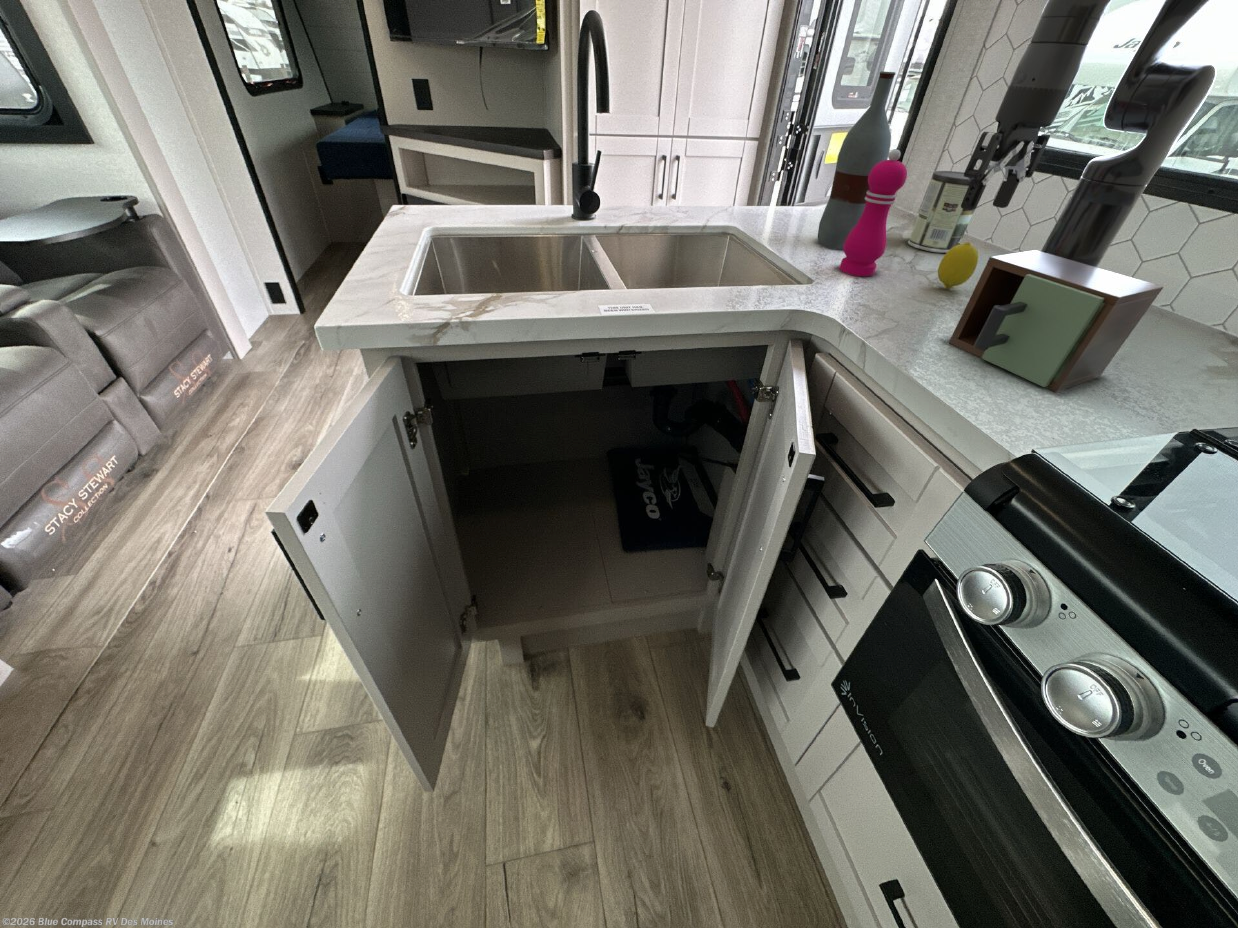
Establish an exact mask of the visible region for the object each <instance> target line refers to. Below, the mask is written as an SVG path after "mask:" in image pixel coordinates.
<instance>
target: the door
mask: <svg viewBox="0 0 1238 928" xmlns="http://www.w3.org/2000/svg"><path fill="white" fill-rule="evenodd" d="M1104 299H1105V298H1103V297H1100V296H1097V295H1093V294H1090V293H1087V292H1084V291H1081V290H1078V289H1075V288H1072V287H1069V286H1065V285H1062V284H1059V283H1056V282H1053V281H1050V280H1047V279H1044V278H1040V277H1037V276H1034V275H1031V274H1028V275H1026V276H1025V278H1024V280H1023V281H1022V283H1021V285H1020V287H1019V289H1018V291H1017V293H1016V294H1015V296H1014V298H1013V300H1012V302H1011V304H1007V305H1002V306H1000V305H996V306H994V307H993V309H992V311H991V313H990V315H989V317H988V319H987V321H986V323H985V325H984V327H983V329H982V331H981V332H980V334H979V336H978V338H977V340H976V342H975V344H974V347H975V348H977V349H980V350H985V352H984V354H983V356H982V358H981V359H982V360H984V361H986V362H988V363H991V364H992V365H995V366H998V367H999V368H1002V369H1004V370H1006V371H1007V372H1009V373H1012V374H1014V375H1017V376H1019V377H1021V378H1022V379H1025V380H1027V381H1030V382H1032V383H1034V384H1036V385H1038V386H1040V387H1042V388H1045V387H1046V386H1048V385H1049V383H1050V382H1051V380H1052V379H1053V377H1054V376H1055V374H1056V373H1057V371H1058V370H1059V368H1060V366H1061V365H1062V363H1063V362H1064V360H1065V359H1066V357H1067V356H1068V354H1069V353H1070V351H1071V350H1072V348H1073V346H1074V345H1075V343H1076V342H1077V340H1078V339H1079V337H1080V336H1081V334H1082V333H1083V331H1084V330H1085V328H1086V327H1087V325H1088V323H1089V322H1090V320H1091V319H1092V317H1093V316H1094V314H1095V313H1096V311H1097V310H1098V308H1099V307H1100V305H1101V304H1102V302H1103V300H1104Z"/></svg>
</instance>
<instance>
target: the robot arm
mask: <svg viewBox="0 0 1238 928" xmlns="http://www.w3.org/2000/svg"><path fill="white" fill-rule="evenodd" d="M1112 1H1113V0H1047V2H1046V4H1045V6H1044V8H1043V10H1042V12H1041V15H1040V17H1039V18H1038V22H1037V23H1036V27H1035V29H1034V31H1033V33H1032V36H1031V38H1030V40H1029V43H1028V44H1027V47H1026V48H1025V51H1024V52H1023V54H1022V56H1021V58H1020V59H1019V61H1018V64H1017V66H1016V68H1015V71H1014V72H1013V75H1012V77H1011V79H1010V82H1009V84H1008V87H1007V89H1006V91H1005V94H1004V96H1003V99H1002V102H1001V103H1000V105H999V107H998V111H997V113H996V116H995V117H994V119H995V122H996V123H1000V126H999V128H998V129H997V131H996V132H994V131H993V132H992V131H983V132H982V133H981V135H980V136H979V139H978V141H977V144H976V146H975V148H974V151H973V152H972V154H971V157H970V159H969V161H968V163H967V166H966V168H965V170H964V171H963V172H964V177H968V178H969V181H970V185H969V187H968V189H967V192H966V194H965V196H964V199H963V201H962V204H961V208H963V209H966V210H974V211H975V210H976V209H977V208H978V205H979V203H980V201H981V198H982V196H983V194H984V191H985V190H986V188H987V184H988V182H989V181H990V180H991V179H992V177H994V175H995V174H997V173H1000V172H1001V171H1002V170H1003V169H1004V171H1005V172H1004V179H1005V180H1002V182H1001V184H1000V186H999V188H998V191H997V193H996V195H995V197H994V200H993V202H992V207H996V208H1000V209H1006V208H1008V206H1009V205H1010V203H1011V200H1012V199H1013V197H1014V194H1015V192H1016V190H1017V188H1018V186H1019V184H1020V183H1023V182H1024V180H1025V179H1026V178H1027V179H1030V178H1032V176H1033V175H1034V173H1035V171H1036V169H1037V166H1038V164H1039V162H1040V160H1041V157H1042V155H1043V153H1044V151H1045V149H1046V148H1047V145H1048V143H1049V141H1050V139H1051V134H1048V133H1042V132H1040V130H1041V128H1049V127H1050V126H1052V125H1053V124H1054V123H1055V120H1056V119H1057V116H1058V115H1059V113H1060V110H1061V108H1062V106H1063V104H1064V102H1065V100H1066V98H1067V96H1068V93H1069V92H1070V89H1071V88H1072V85H1073V83H1074V81H1075V79H1076V77H1077V75H1078V73H1079V72H1080V70H1081V67H1082V64H1083V62H1084V59H1085V57H1086V52H1087V51H1088V49H1089V45H1090V44H1091V42H1092V39H1093V38H1094V35H1095V33H1096V31H1097V29H1098V27H1099V26H1100V23H1101V21H1102V19H1103V17H1104V15H1105V13H1106V10H1107V9H1108V7H1109V5H1110V4H1111V2H1112ZM1212 1H1213V0H1162V2H1161V4H1160V6H1159V8H1158V10H1157V11H1156V13H1155V16H1154V17H1153V19H1152V21H1151V23H1150V24H1149V27H1148V28H1147V30H1146V31H1145V34H1144V35H1143V38H1141V41H1140V43H1139V45H1138V46H1137V48H1136V50H1135V51H1134V53H1133V55H1132V57H1131V59H1130V61H1129V62H1128V64H1127V66H1126V68H1125V69H1124V71H1123V72H1122V75H1121V77H1120V78H1119V80H1118V82H1117V84H1116V86H1115V88H1114V90H1113V92H1112V94H1111V97H1110V98H1109V101H1108V103H1107V105H1106V109H1105V111H1104V115H1103V126H1104V128H1106V129H1107V130H1108V131H1109V130H1110V131H1116V132H1120V133H1130V134H1138V135H1139V134H1140V135H1144V136H1143V138H1142V139H1141V141H1140V142H1139V143H1137V144H1136V146H1134V147H1131V148H1129V149H1126V150H1125V151H1121V152H1118V153H1115V154H1114V153H1113V154H1108V155H1103V156H1098V157H1097V156H1096V157H1095V158H1093V159H1091V160H1089V162H1088V163H1087V165H1086V167H1085V168H1084V170H1083V172H1082V174H1081V176H1080V178H1079V179H1078V181H1077V183H1076V185H1075V187H1074V189H1073V191H1072V193H1071V195H1070V196H1069V197H1068V199H1067V202H1066V204H1065V206H1064V208H1063V209H1062V211H1061V213H1060V215H1059V216H1058V219H1057V220H1056V222H1055V224H1054V226H1053V228H1052V229H1051V231H1050V233H1049V235H1048V237H1047V239H1046V241H1045V243H1044V244H1043V246H1042V248H1041V250H1040V251H1041V252H1044V253H1048V254H1051V255H1055V256H1058V257H1062V258H1065V259H1069V260H1072V261H1076V262H1079V263H1083V264H1086V265H1090V266H1093V267H1097V268H1098V266H1099V265H1100V263H1101V261H1102V260H1103V258H1104V256H1105V255H1106V253H1107V252H1108V250H1109V248H1110V247H1111V245H1112V244H1113V242H1114V240H1115V239H1116V237H1117V235H1118V234H1119V232H1120V231H1121V229H1122V227H1123V226H1124V224H1125V222H1126V221H1127V219H1128V218H1129V216H1130V214H1131V213H1132V211H1133V210H1134V208H1135V206H1136V204H1137V203H1138V201H1139V200H1140V198H1141V196H1142V195H1143V193H1144V191H1145V190H1146V188H1147V186H1148V185H1149V184H1150V181H1151V180H1152V179H1153V177H1154V175H1155V174H1156V173H1157V172H1158V170H1159V168H1161V167H1162V165H1163V163H1164V162H1165V160H1166V159H1167V157H1168V156H1169V155H1170V152H1171V151H1172V149H1173V148H1174V146H1175V144H1176V143H1178V140H1179V139H1180V137H1181V136H1182V135H1183V133H1184V131H1185V130H1186V128H1187V127H1188V126H1189V124H1190V123H1191V121H1192V120H1193V118H1194V117H1195V115H1196V114H1197V113H1198V111H1199V110H1200V109H1201V107H1202V106H1203V104H1204V102H1205V100H1206V99H1207V97H1208V95H1209V94H1210V93H1211V90H1212V88H1213V86H1214V83H1215V81H1216V78H1217V67H1216V66H1215V65H1214V64H1213V63H1209V62H1200V61H1199V62H1198V61H1194V62H1193V61H1166V60H1167V58H1168V56H1169V55H1170V53H1171V51H1172V49H1173V48H1174V46H1175V44H1176V43H1177V41H1179V39H1180V37H1181V35H1183V33H1184V32H1185V30H1186V29H1187V27H1188V26H1189V25H1190V24H1191V23H1192V22H1193V21H1194V20H1195V19H1196V17H1197V16H1198V15H1200V13H1201V12H1202V11H1203V10H1204V9H1205V8H1206V7H1207V6H1208V5H1209V4H1210V3H1212ZM977 163H978V166H977V167H976V165H977Z"/></svg>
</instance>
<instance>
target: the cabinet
mask: <svg viewBox="0 0 1238 928" xmlns="http://www.w3.org/2000/svg"><path fill="white" fill-rule="evenodd" d="M1028 274H1031V275H1034V276H1037V277H1040V278H1044V279H1047V280H1050V281H1053V282H1056V283H1059V284H1062V285H1065V286H1069V287H1072V288H1075V289H1078V290H1081V291H1084V292H1087V293H1090V294H1093V295H1097V296H1100V297H1103V298H1105V299H1104V300H1103V302H1102V304H1101V305H1100V307H1099V308H1098V310H1097V311H1096V313H1095V314H1094V316H1093V317H1092V319H1091V320H1090V322H1089V323H1088V325H1087V327H1086V328H1085V330H1084V331H1083V333H1082V334H1081V336H1080V337H1079V339H1078V340H1077V342H1076V343H1075V345H1074V346H1073V348H1072V350H1071V351H1070V353H1069V354H1068V356H1067V357H1066V359H1065V360H1064V362H1063V363H1062V365H1061V366H1060V368H1059V370H1058V371H1057V373H1056V374H1055V376H1054V377H1053V379H1052V380H1051V382H1050V383H1049V385H1048V386H1046V387H1044V388H1046V389H1048V390H1050V391H1052V392H1054V393H1058V392H1061V391H1064V390H1067V389H1070V388H1073V387H1075V386H1078V385H1080V384H1084V383H1087V382H1090V381H1093V380H1095V379H1099V378H1100V377H1101V376H1102V374H1104V373H1103V372H1104V371H1105V370H1106V368H1107V367H1108V365H1109V364H1111V361H1112V360H1113V359H1114V357H1115V356H1116V354H1117V353H1118V352H1119V350H1120V349H1121V348H1122V347H1123V345H1124V343H1125V342H1126V340H1127V339H1128V338H1129V336H1130V335H1131V334H1132V332H1133V331H1134V329H1135V328H1136V327H1137V325H1138V324H1139V322H1140V321H1141V319H1142V318H1143V317H1144V316H1145V315H1146V313H1147V311H1148V309H1149V308H1150V307H1151V306H1152V304H1153V303H1154V301H1156V299H1157V297H1158V296H1159V295H1160V293H1161V292H1162V290H1163V289H1164V286H1162V285H1160V284H1156V283H1152V282H1148V281H1145V280H1143V279H1138V278H1135V277H1131V276H1129V275H1124V274H1121V273H1117V272H1114V271H1111V270H1107V269H1103V268H1100V267H1098V266H1097V267H1093V266H1090V265H1086V264H1083V263H1079V262H1076V261H1072V260H1069V259H1065V258H1062V257H1058V256H1055V255H1051V254H1048V253H1044V252H1041V250H1037V249H1032V250H1025V251H1020V252H1012V253H1007V254H999V255H994V256H989V257H988V260H987V262H986V264H985V267H984V269H983V271H982V273H981V275H980V276H979V279H978V281H977V283H976V285H975V287H974V289H973V291H972V293H971V295H970V297H969V300H968V302H967V304H966V306H965V308H964V310H963V312H962V314H961V316H960V318H959V320H958V322H957V324H956V327H955V329H954V330H953V332H952V335H951V336H950V339H949V340H948V344H950V345H953V346H955V347H957V348H959V349H962V350H963V351H965V352H968V353H970V354H972V355H974V356H976V357H979V358H980V359H982V356H983V354H984V352H985V350H980V349H977V348H975V347H974V344H975V342H976V340H977V338H978V336H979V334H980V332H981V331H982V329H983V327H984V325H985V323H986V321H987V319H988V317H989V315H990V313H991V311H992V309H993V307H994V306H996V305H1000V306H1002V305H1007V304H1011V302H1012V300H1013V298H1014V296H1015V294H1016V293H1017V291H1018V289H1019V287H1020V285H1021V283H1022V281H1023V280H1024V278H1025V276H1026V275H1028Z"/></svg>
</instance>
